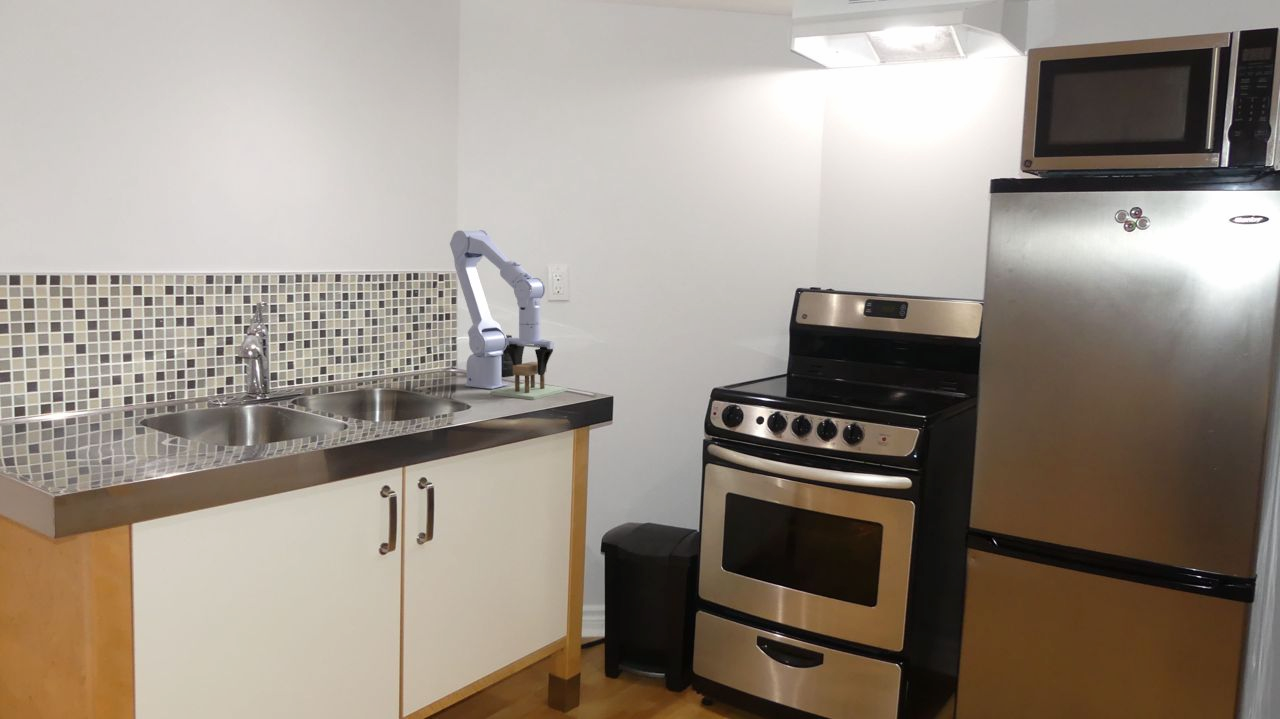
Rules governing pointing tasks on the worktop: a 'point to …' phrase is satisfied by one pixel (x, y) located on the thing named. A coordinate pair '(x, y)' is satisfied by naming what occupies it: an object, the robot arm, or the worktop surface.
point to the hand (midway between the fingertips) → (529, 373)
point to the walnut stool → (527, 375)
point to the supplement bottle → (506, 362)
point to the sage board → (533, 392)
